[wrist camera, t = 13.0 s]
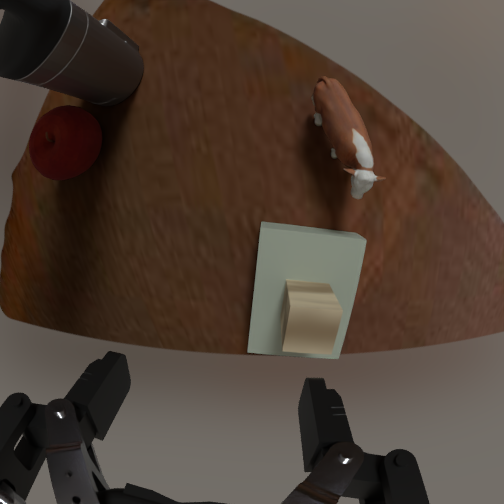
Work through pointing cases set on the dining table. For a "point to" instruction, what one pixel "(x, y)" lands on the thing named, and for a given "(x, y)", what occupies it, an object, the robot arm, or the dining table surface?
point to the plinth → (301, 278)
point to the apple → (65, 142)
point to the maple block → (309, 317)
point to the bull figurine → (345, 133)
